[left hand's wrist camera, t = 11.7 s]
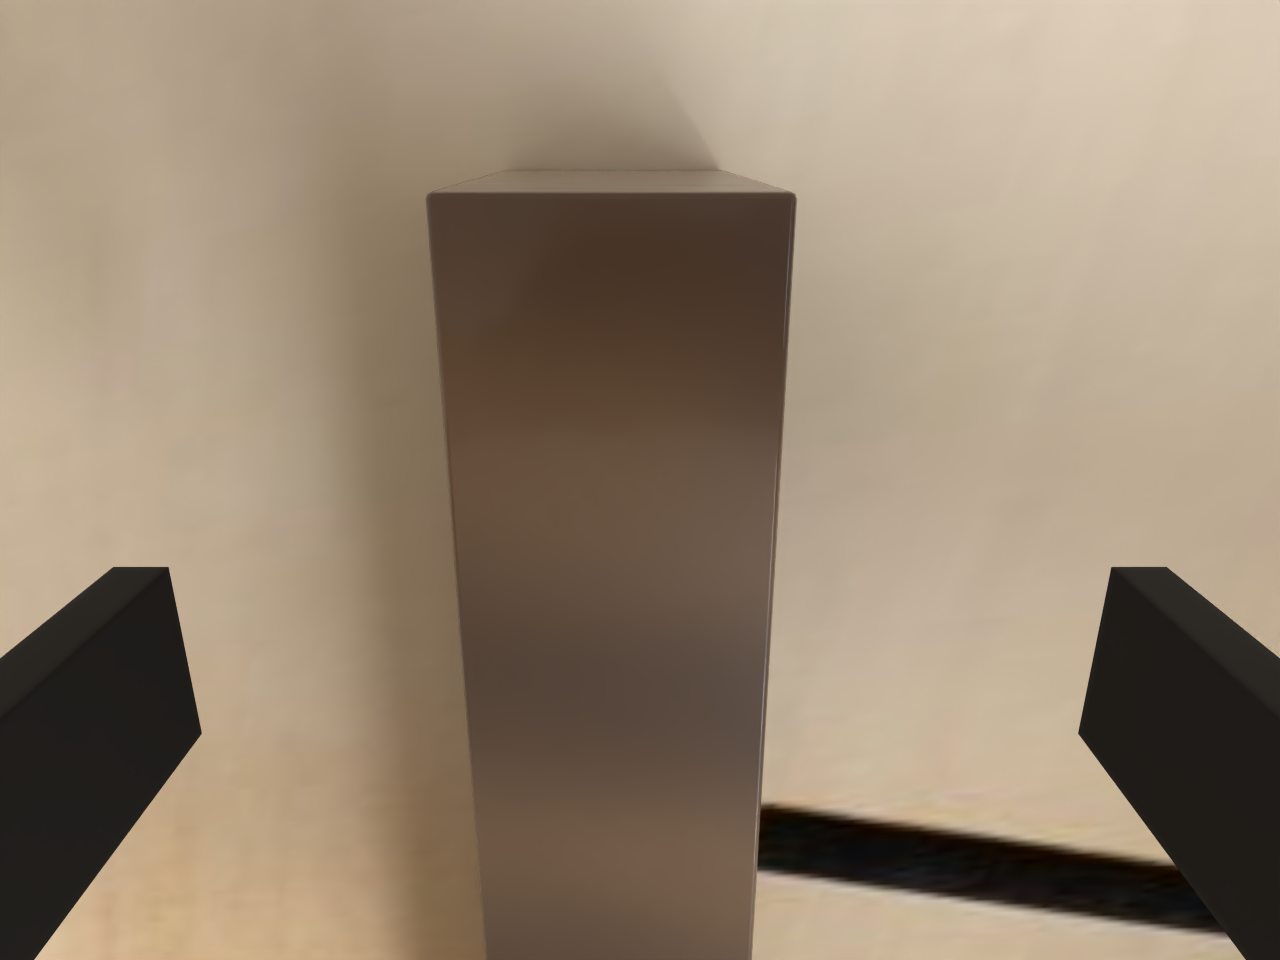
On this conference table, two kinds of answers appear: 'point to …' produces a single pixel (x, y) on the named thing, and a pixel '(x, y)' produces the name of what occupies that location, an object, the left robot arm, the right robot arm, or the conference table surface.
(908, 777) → the conference table surface
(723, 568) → the post
